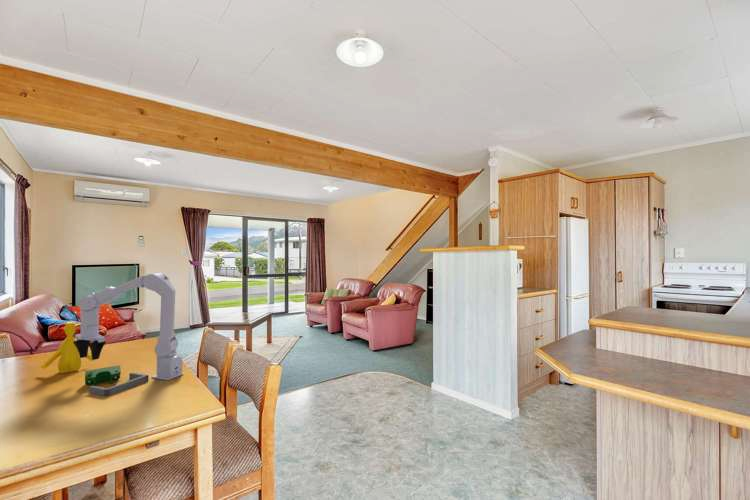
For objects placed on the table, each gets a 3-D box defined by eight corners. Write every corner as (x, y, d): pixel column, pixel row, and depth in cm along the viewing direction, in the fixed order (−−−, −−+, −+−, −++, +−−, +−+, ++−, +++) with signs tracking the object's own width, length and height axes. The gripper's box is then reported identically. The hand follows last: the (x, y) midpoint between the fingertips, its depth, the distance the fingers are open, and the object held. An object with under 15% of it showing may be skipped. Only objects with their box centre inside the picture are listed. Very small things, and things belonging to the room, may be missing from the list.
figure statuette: (93, 364, 163) (94, 317, 163) (96, 368, 157) (96, 320, 157) (40, 374, 150) (41, 323, 150) (41, 379, 145) (42, 325, 145)
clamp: (91, 398, 136) (79, 381, 133) (91, 389, 141) (79, 373, 137) (126, 381, 142) (115, 364, 139) (125, 373, 147) (115, 357, 143)
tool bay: (148, 381, 143) (148, 374, 143) (106, 396, 127) (106, 389, 127) (132, 378, 146) (132, 372, 146) (89, 393, 130) (89, 386, 130)
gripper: (66, 325, 141) (66, 359, 141) (91, 328, 136) (91, 363, 136) (85, 322, 147) (85, 354, 147) (110, 324, 143) (109, 357, 143)
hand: (89, 358), depth 142 cm, fingers open, 7 cm apart
